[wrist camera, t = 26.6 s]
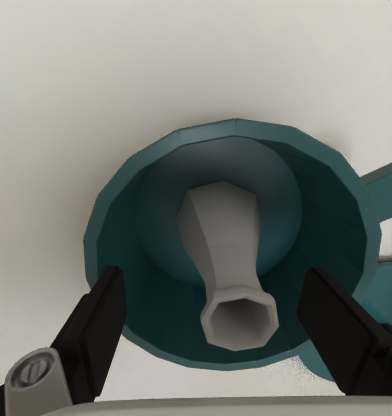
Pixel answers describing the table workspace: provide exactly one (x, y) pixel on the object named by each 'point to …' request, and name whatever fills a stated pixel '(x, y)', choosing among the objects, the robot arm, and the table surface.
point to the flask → (227, 264)
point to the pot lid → (374, 304)
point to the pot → (268, 241)
